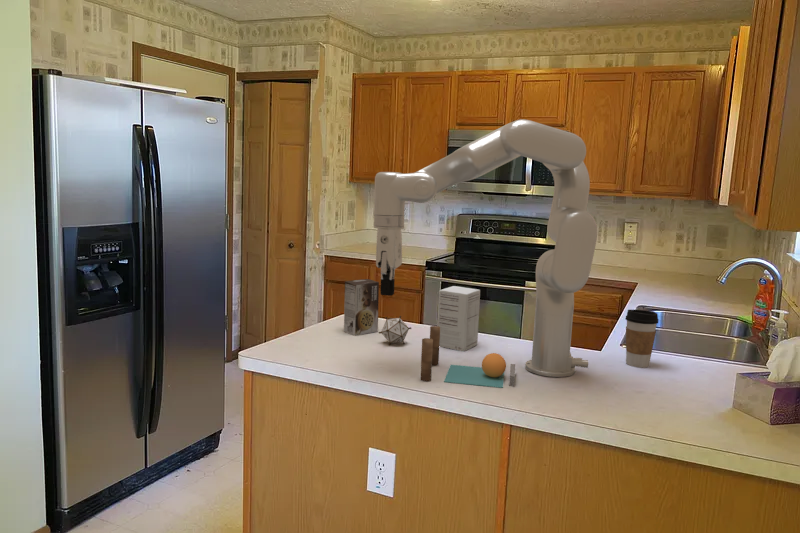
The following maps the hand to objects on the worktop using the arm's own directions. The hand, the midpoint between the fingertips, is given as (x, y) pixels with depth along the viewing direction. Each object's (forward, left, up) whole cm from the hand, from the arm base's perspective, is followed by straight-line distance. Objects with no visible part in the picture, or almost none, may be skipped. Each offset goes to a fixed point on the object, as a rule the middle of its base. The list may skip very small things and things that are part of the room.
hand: (387, 294), depth 154 cm
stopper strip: (-32, 0, -19) cm, 37 cm away
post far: (-12, -6, -19) cm, 23 cm away
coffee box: (+15, -33, -19) cm, 41 cm away
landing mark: (-23, 0, -19) cm, 30 cm away
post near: (-12, +7, -19) cm, 23 cm away
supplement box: (-16, -27, -19) cm, 37 cm away
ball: (-28, 0, -16) cm, 32 cm away
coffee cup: (-66, -24, -19) cm, 72 cm away
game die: (+2, -23, -19) cm, 30 cm away
